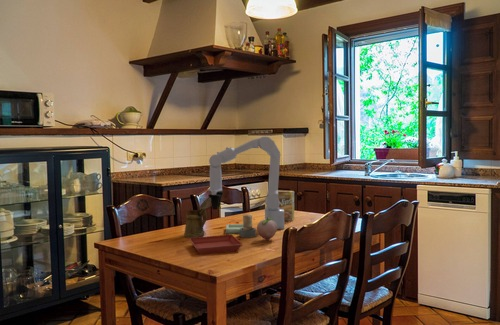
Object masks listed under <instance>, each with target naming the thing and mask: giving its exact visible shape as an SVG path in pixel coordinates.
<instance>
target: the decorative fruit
mask: <svg viewBox="0 0 500 325" xmlns="http://www.w3.org/2000/svg"><path fill="white" fill-rule="evenodd" d="M277 230H278V229H277V225H276V223H275V222H274V221H273V219H271V218H268V217H267V219H265V218H264V219H262V220H260V221H259V222H258V224H257V226H256V233H257V234H258V236H260V237H261V238H262V239H264V240H266V241H269V240H270V239H272V238H274V236H275V235H276V234H277Z"/></svg>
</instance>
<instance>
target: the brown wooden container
mask: <svg viewBox="0 0 500 325" xmlns="http://www.w3.org/2000/svg"><path fill="white" fill-rule="evenodd" d="M210 204H211V198H210V197H209V196H208V197H207V198H206V199H205V200H203V202H202V203H201V205H200V207H199V208H200V209H191V210H190V209H189V210H187V211H186V214H185V219H186V220H185V228H184V234H183V237H184V238H197V237H205V234H206V233H205V230H204V226H205V225H206V222H207V218H208V216H207V215H208V214H207V211H206V209H207V208H208V207H209V205H210Z"/></svg>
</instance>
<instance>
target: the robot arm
mask: <svg viewBox="0 0 500 325" xmlns="http://www.w3.org/2000/svg"><path fill="white" fill-rule="evenodd" d="M250 149H261V150H263V151H264V152H266V153H267V154H268V156H269V171H268V187H267V193H266V197H265V199H264V203H265V205H266V207H264V220H265V219H267V217H268V218H271V219H273V221H274V222H275V223H276V225H277V230H279V229H281V230H284V229H285V221H286V220H284V209H280V208H279V205H280V201H279V199H278V191H279V180H280V165H281V164H280V163H281V151H280V149H279V148H278V146H277V145H276V142H275V140H273V139H272V138H271V137H269V136H266V135H265V136H261V137H258V138H254V139H251V140H249V141H247V142H245V143H243V144H241V145H239V146H237V147H235V148H234V147H228V146H227V147H226V148H225V149H224V150H222V151H217V152H216V154H212V155H210V157H209V159H208V162H209V188H207V191H209V192H211V193H209V194H208V195H207V196H208V198H209V197H210V198H211V203H210V204H211V207H212V210H218V208H220V207H221V201H222V197H223V194H224V191H223V182H222V181H223V180H222V179H223V178H222V177H223V176H222V175H223V174H222V165H221V164H226V163H228V162H230V161H232V160H235V159H236V158H237V155H239V154H241V153H244V152H246V151H248V150H250Z"/></svg>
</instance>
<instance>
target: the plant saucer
mask: <svg viewBox="0 0 500 325" xmlns="http://www.w3.org/2000/svg"><path fill="white" fill-rule="evenodd" d="M189 241H190V242H191V244H192V245H193V246H194V248H195V249H196V251H197V252H198V253H199V254H200V255H204V254H216V253H227V252H236V251H238V250H240V248H241V247H242V246H243V243H242V242H241V241H240V240H239V239H237V238H236V237H235V236H234V235H233V234H222V235H210V236H202V237H197V238H189Z"/></svg>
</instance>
